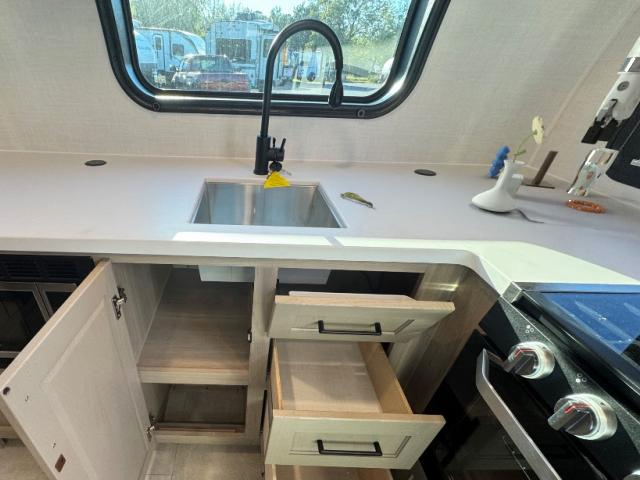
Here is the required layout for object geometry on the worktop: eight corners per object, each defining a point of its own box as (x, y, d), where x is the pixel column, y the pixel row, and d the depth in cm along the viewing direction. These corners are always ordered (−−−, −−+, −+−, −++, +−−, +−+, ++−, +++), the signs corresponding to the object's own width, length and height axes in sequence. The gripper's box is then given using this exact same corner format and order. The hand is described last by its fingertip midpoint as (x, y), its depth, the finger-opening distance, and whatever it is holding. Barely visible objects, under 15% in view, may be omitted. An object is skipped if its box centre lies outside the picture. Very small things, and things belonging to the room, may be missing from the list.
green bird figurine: (369, 208, 96) (371, 201, 94) (337, 197, 105) (338, 191, 104) (378, 206, 97) (380, 199, 96) (346, 195, 107) (347, 189, 105)
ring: (593, 207, 101) (598, 201, 100) (609, 218, 94) (614, 211, 92) (557, 203, 104) (561, 197, 102) (570, 213, 96) (574, 206, 95)
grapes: (500, 182, 122) (517, 148, 115) (480, 178, 126) (495, 146, 119) (507, 177, 129) (523, 145, 122) (488, 173, 133) (503, 142, 126)
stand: (544, 184, 122) (564, 150, 115) (553, 190, 115) (575, 154, 108) (516, 181, 124) (534, 147, 117) (524, 187, 118) (543, 152, 110)
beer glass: (593, 200, 107) (626, 152, 98) (570, 198, 108) (601, 151, 99) (578, 193, 113) (608, 148, 104) (557, 192, 114) (585, 147, 105)
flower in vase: (508, 218, 92) (563, 120, 77) (465, 208, 98) (508, 115, 83) (516, 207, 99) (567, 116, 84) (475, 198, 106) (516, 112, 91)
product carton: (511, 196, 108) (523, 174, 104) (512, 201, 104) (524, 178, 100) (491, 193, 111) (501, 171, 106) (490, 197, 107) (501, 175, 102)
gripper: (651, 66, 73) (599, 147, 83) (672, 68, 80) (622, 142, 90) (609, 66, 78) (565, 142, 88) (632, 68, 85) (589, 138, 96)
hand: (594, 142), depth 89 cm, fingers open, 9 cm apart
